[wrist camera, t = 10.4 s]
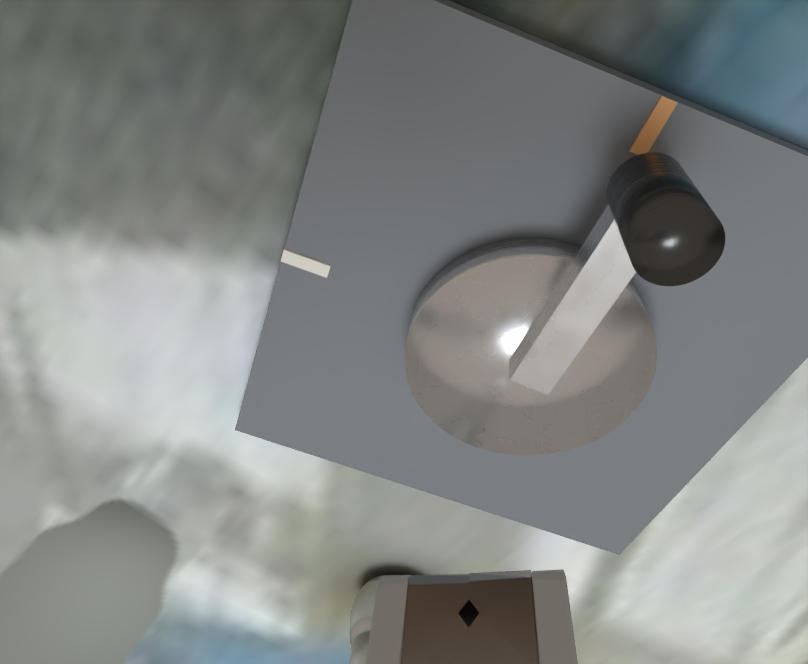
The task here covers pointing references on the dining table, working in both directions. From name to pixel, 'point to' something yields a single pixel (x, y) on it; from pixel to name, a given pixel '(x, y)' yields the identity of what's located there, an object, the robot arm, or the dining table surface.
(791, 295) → the dial plate
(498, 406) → the dial
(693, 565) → the dining table surface
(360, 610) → the plastic bottle
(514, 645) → the robot arm
